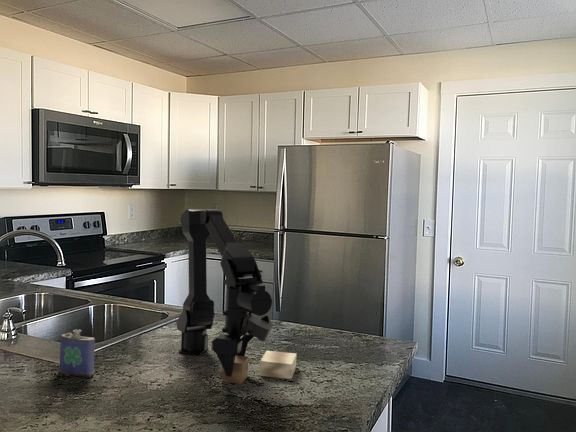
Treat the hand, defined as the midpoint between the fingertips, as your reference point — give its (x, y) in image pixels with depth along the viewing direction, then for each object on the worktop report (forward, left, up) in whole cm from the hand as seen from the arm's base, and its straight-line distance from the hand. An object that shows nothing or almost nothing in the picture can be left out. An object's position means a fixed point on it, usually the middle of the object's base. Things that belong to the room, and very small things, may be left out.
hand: (235, 369), depth 119 cm
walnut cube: (0, 0, -2) cm, 2 cm away
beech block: (+9, +8, -3) cm, 12 cm away
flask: (-37, -9, -2) cm, 38 cm away
